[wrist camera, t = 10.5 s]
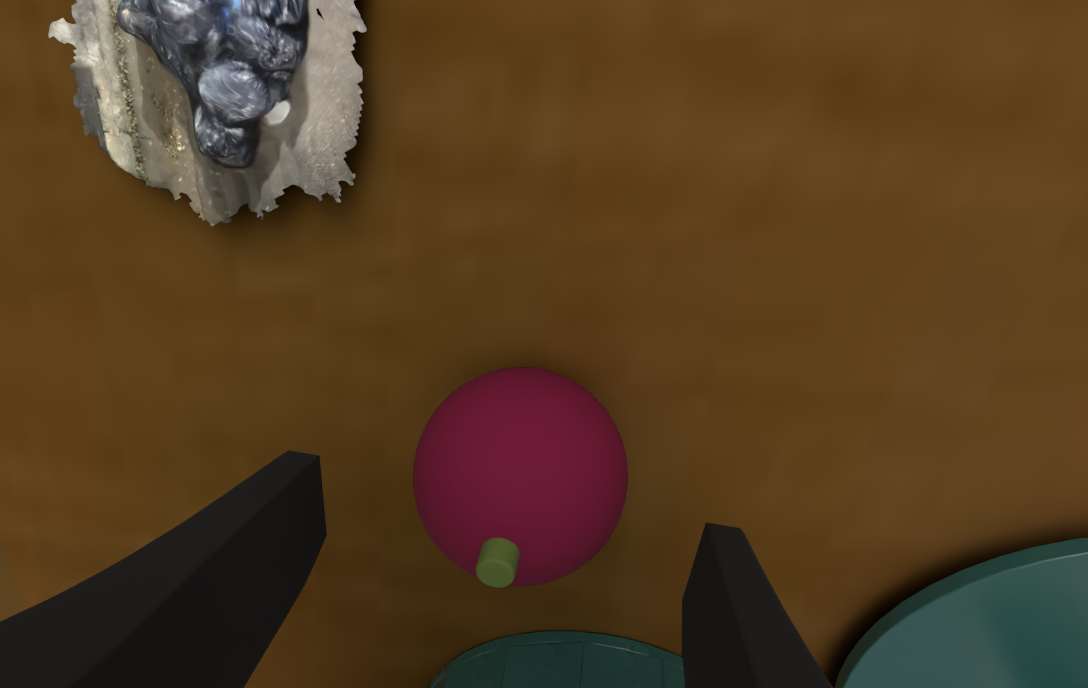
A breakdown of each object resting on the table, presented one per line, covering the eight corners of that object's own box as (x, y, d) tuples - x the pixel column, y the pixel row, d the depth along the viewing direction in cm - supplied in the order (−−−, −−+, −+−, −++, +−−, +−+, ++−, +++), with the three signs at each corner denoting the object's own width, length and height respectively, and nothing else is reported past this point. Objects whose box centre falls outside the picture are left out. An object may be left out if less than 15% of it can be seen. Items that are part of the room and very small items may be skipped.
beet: (645, 347, 14) (645, 502, 10) (614, 498, 16) (603, 678, 12) (448, 316, 14) (366, 453, 10) (444, 468, 17) (374, 634, 12)
